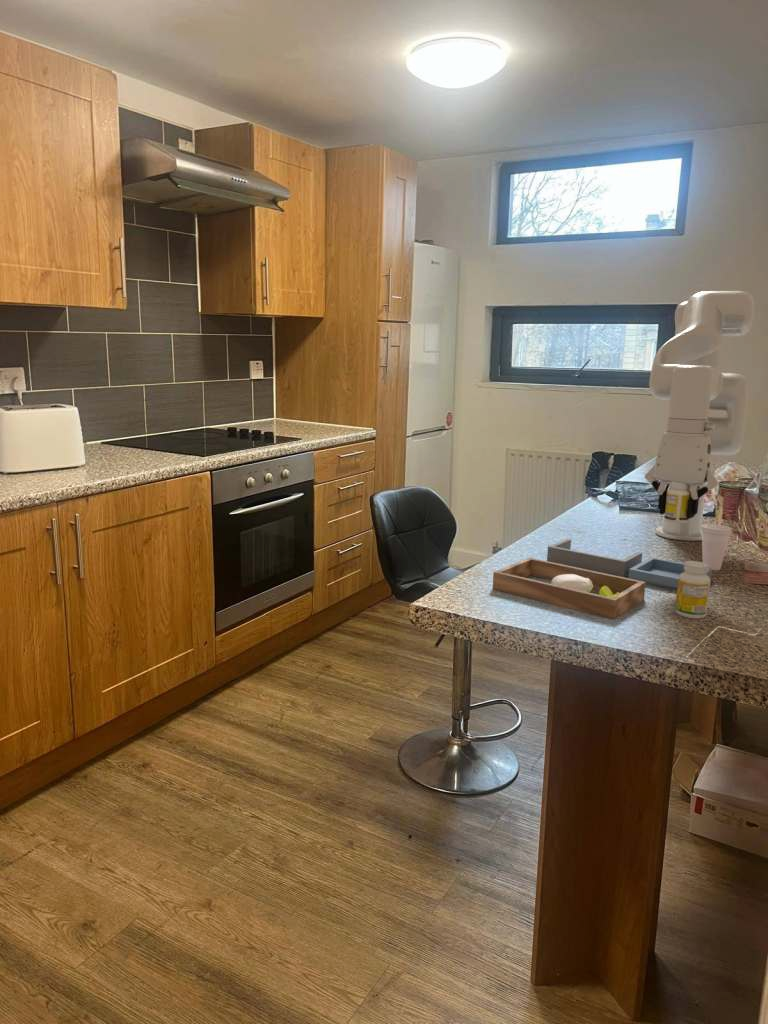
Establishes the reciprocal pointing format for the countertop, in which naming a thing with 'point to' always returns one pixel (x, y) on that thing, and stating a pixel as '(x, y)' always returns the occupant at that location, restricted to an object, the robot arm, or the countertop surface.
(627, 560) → the bay
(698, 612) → the supplement bottle
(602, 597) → the wooden rectangular frame
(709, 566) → the smoothie
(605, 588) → the plate of lemons
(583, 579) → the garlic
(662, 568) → the tray
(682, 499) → the supplement bottle
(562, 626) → the countertop surface
